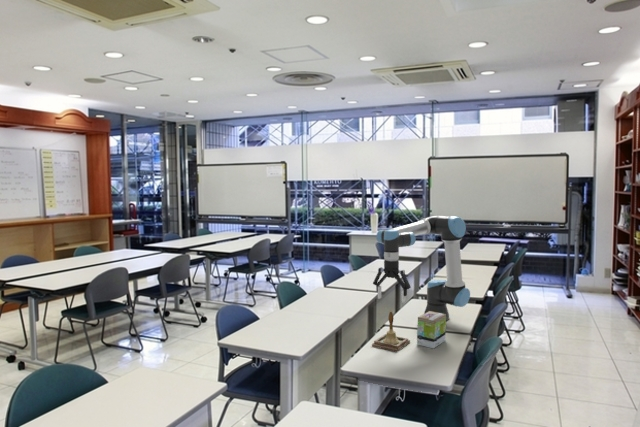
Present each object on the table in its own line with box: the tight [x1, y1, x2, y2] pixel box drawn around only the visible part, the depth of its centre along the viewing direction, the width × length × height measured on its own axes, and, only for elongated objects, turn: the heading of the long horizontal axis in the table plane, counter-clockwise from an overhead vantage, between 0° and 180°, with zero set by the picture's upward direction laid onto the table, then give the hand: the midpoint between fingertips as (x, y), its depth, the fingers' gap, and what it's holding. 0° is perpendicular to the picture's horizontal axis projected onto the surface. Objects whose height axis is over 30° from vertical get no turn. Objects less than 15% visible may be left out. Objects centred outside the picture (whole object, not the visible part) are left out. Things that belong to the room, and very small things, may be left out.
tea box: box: [416, 311, 447, 349], centre depth 233 cm, size 15×10×15 cm
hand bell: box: [383, 311, 399, 345], centre depth 231 cm, size 8×8×16 cm
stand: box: [371, 333, 411, 353], centre depth 231 cm, size 16×14×2 cm
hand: (391, 300), depth 232 cm, fingers open, 13 cm apart
